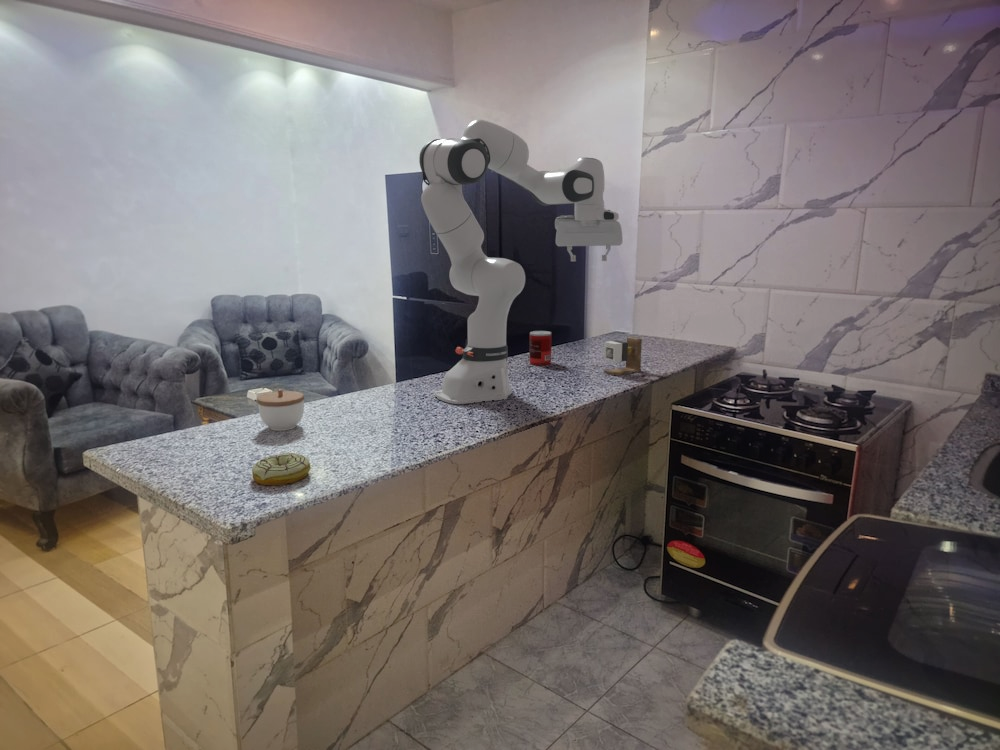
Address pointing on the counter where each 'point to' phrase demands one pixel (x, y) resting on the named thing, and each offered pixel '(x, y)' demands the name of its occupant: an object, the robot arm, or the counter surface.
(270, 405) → the lidded jar
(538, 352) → the canned food
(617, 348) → the sleeve
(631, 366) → the pipe stand
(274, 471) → the decorated donut
